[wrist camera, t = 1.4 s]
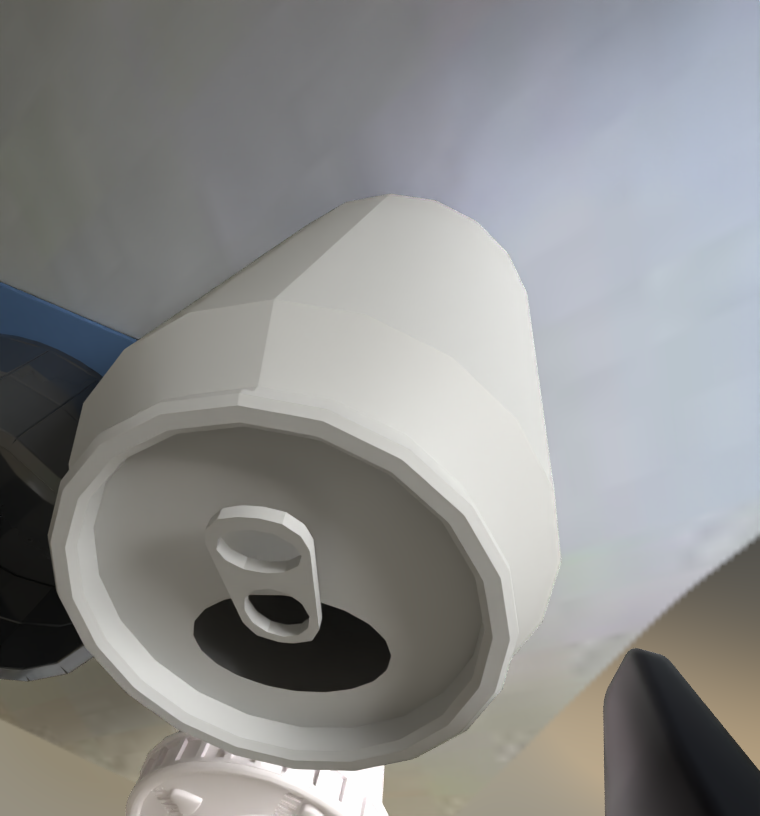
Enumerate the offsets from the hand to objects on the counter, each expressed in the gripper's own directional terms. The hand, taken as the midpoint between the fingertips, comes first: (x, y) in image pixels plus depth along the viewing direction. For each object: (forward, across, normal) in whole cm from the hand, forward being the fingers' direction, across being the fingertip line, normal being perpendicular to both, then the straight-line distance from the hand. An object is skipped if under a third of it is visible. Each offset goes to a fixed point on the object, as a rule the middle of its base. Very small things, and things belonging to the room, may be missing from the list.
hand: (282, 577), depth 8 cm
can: (+12, 0, 0) cm, 12 cm away
